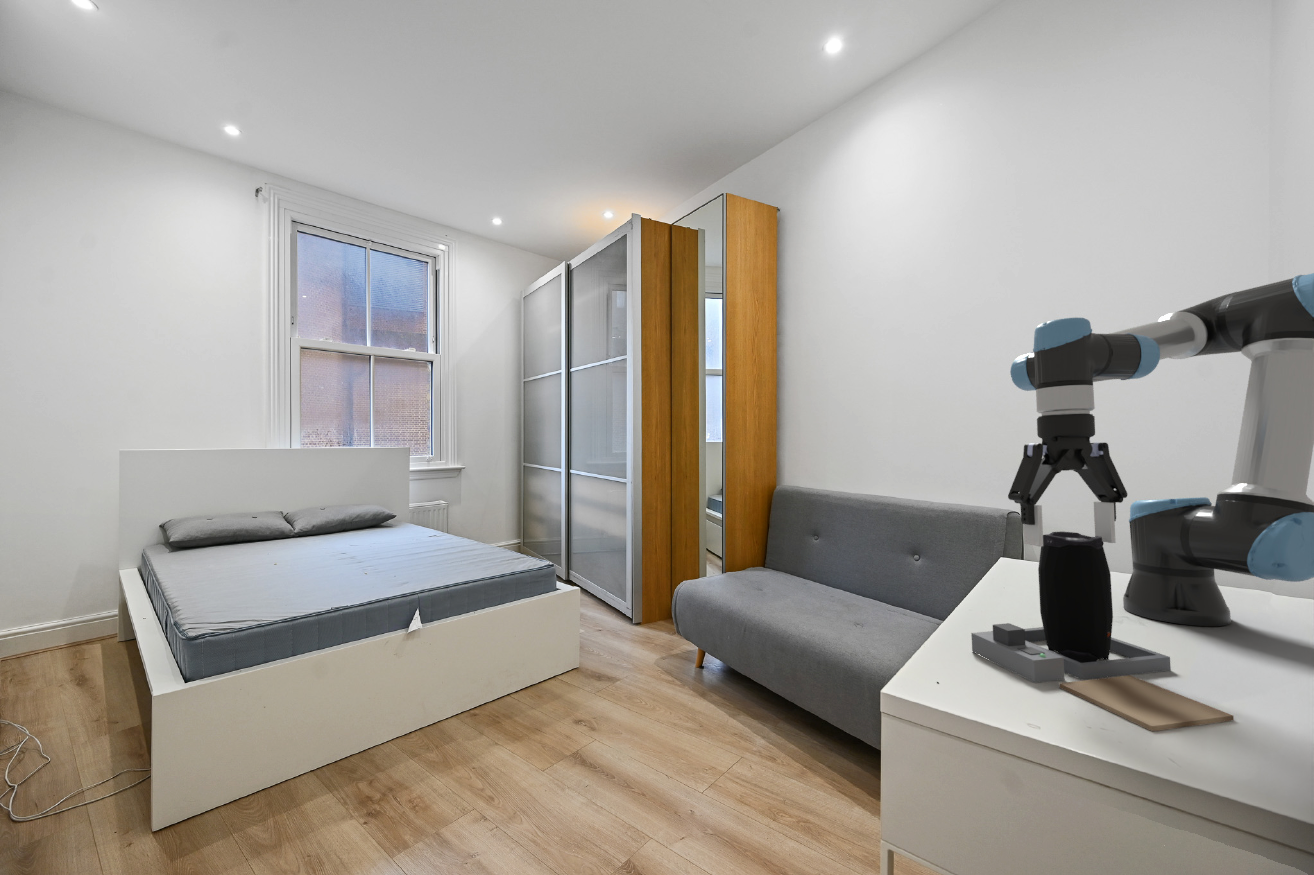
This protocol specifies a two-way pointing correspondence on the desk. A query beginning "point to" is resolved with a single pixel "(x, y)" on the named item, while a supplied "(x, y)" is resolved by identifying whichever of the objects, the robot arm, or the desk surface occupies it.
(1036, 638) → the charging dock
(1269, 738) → the desk surface
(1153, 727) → the cork mat
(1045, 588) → the portable speaker
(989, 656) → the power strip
